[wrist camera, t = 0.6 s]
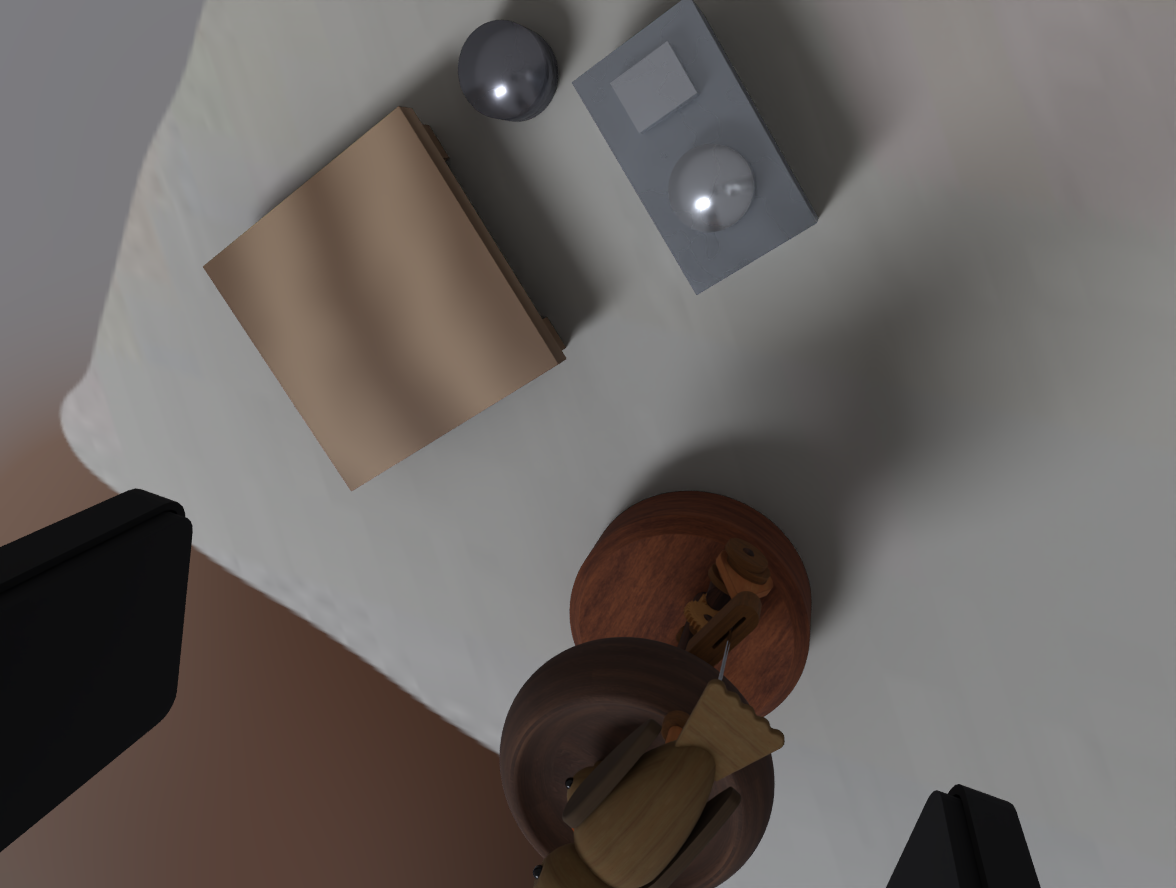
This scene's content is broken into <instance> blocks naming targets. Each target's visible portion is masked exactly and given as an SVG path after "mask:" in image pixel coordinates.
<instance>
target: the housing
mask: <svg viewBox="0 0 1176 888" xmlns="http://www.w3.org/2000/svg"><path fill="white" fill-rule="evenodd" d="M572 84H573V85H574V87H575V89H576V91H577V92H578V94H579V96H580V97H581V99H582V101H583V103H584V104H585V106H586V108H587V109H588V111H589V113H590V114H591V116H592V118H593V120H594V121H595V123H596V125H597V126H598V128H599V130H600V131H601V133H602V135H603V137H604V138H605V140H606V142H607V143H608V145H609V147H610V149H611V150H612V152H613V154H614V155H615V157H616V159H617V160H618V162H619V164H620V166H621V167H622V169H623V171H624V172H625V174H626V176H627V177H628V179H629V181H630V183H631V184H632V186H633V188H634V189H635V191H636V193H637V195H638V196H639V198H640V200H641V201H642V203H643V205H644V206H645V208H646V210H647V212H648V213H649V215H650V217H651V218H652V220H653V222H654V223H655V225H656V227H657V229H658V230H659V232H660V234H661V235H662V237H663V239H664V241H665V242H666V244H667V246H668V247H669V249H670V251H671V252H672V254H673V256H674V258H675V259H676V261H677V263H678V264H679V266H680V268H681V269H682V271H683V273H684V275H685V276H686V278H687V280H688V281H689V283H690V285H691V287H692V288H693V290H694V292H695V293H696V295H698V294H699V293H701V292H703V291H704V290H706V289H708V288H709V287H711V286H713V285H714V284H716V283H718V282H719V281H721V280H723V279H724V278H726V277H728V276H729V275H731V274H733V273H734V272H736V271H738V270H739V269H741V268H743V267H744V266H746V265H748V264H749V263H751V262H753V261H754V260H756V259H758V258H759V257H761V256H763V255H764V254H766V253H768V252H769V251H771V250H773V249H774V248H776V247H778V246H779V245H781V244H783V243H784V242H786V241H788V240H789V239H791V238H793V237H794V236H796V235H798V234H799V233H801V232H803V231H804V230H806V229H808V228H809V227H811V226H813V225H814V224H816V223H817V221H818V217H817V215H816V213H815V211H814V209H813V208H812V206H811V204H810V202H809V201H808V199H807V197H806V195H805V193H804V192H803V190H802V188H801V186H800V185H799V183H798V181H797V179H796V177H795V176H794V174H793V172H792V170H791V169H790V167H789V165H788V163H787V161H786V160H785V158H784V156H783V154H782V153H781V151H780V149H779V147H778V145H777V144H776V142H775V140H774V138H773V137H772V135H771V133H770V131H769V129H768V128H767V126H766V124H765V122H764V121H763V119H762V117H761V115H760V113H759V112H758V110H757V108H756V106H755V105H754V103H753V101H752V99H751V97H750V96H749V94H748V92H747V90H746V89H745V87H744V85H743V83H742V81H741V80H740V78H739V76H738V74H737V73H736V71H735V69H734V67H733V65H732V64H731V62H730V60H729V58H728V57H727V55H726V53H725V51H724V49H723V48H722V46H721V44H720V42H719V41H718V39H717V37H716V35H715V33H714V32H713V30H712V28H711V26H710V25H709V23H708V21H707V19H706V17H705V16H704V14H703V13H702V11H701V10H700V9H699V8H698V6H697V5H696V4H695V2H694V1H693V0H681V1H680V2H678V3H677V4H676V5H674V6H673V7H672V8H670V9H669V10H668V11H666V12H665V13H664V14H662V15H661V16H660V17H658V18H657V19H656V20H654V21H653V22H652V23H650V24H649V25H648V26H646V27H645V28H644V29H642V30H641V31H640V32H638V33H637V34H636V35H634V36H633V37H632V38H630V39H629V40H628V41H626V42H625V43H624V44H622V45H621V46H620V47H618V48H617V49H616V50H614V51H613V52H612V53H610V54H609V55H608V56H606V57H605V58H604V59H602V60H601V61H600V62H598V63H597V64H596V65H594V66H593V67H592V68H590V69H589V70H588V71H586V72H585V73H584V74H582V75H581V76H580V77H578V78H577V79H576V80H574V81H573V82H572Z"/></svg>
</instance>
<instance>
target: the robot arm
mask: <svg viewBox="0 0 1176 888" xmlns="http://www.w3.org/2000/svg"><path fill="white" fill-rule="evenodd" d="M192 533H193V531H192V524H191V521H190V520H189V519H188V518H186V517H185V512H184V509H183V506H181V505H180V504H179V503H178V502H175V501H172V500H170V499H167V498H164V497H161V496H159V495H156V494H153V493H150V492H148V491H145V490H142V489H132V490H128V491H126V492H124V493H121V494H119V495H117V496H115V497H113V498H110V499H108V500H106V501H104V502H101V503H99V504H97V505H94V506H92V507H90V508H88V509H85V510H83V511H81V512H79V513H76V514H74V515H72V516H70V517H68V518H65V519H63V520H61V521H58V522H56V523H54V524H52V525H49V526H47V527H45V528H42V529H40V530H38V531H36V532H33V533H31V534H29V535H27V536H24V537H22V538H20V539H18V540H16V541H13V542H11V543H9V544H7V545H4V546H2V547H0V852H1V851H2V850H4V849H5V848H6V847H7V846H9V845H10V844H11V843H12V842H13V841H15V840H16V839H17V838H18V837H20V836H21V835H22V834H23V833H25V832H26V831H27V830H28V829H29V828H30V827H32V826H33V825H34V824H36V823H37V822H38V821H39V820H40V819H41V818H43V817H44V816H45V815H47V814H48V813H49V812H50V811H51V810H53V809H54V808H55V807H56V806H58V805H59V804H60V803H61V802H62V801H64V800H65V799H66V798H67V797H68V796H70V795H71V794H72V793H73V792H75V791H76V790H77V789H78V788H80V787H81V786H82V785H83V784H85V783H86V782H87V781H88V780H89V779H91V778H92V777H93V776H94V775H96V774H97V773H98V772H99V771H100V770H102V769H103V768H104V767H105V766H107V765H108V764H109V763H110V762H112V761H113V760H114V759H115V758H116V757H118V756H119V755H120V754H121V753H122V752H124V751H125V750H126V749H127V748H129V747H130V746H131V745H132V744H134V743H135V742H136V741H137V740H138V739H140V738H141V737H142V736H143V735H145V734H146V733H147V732H148V731H150V730H151V729H152V728H153V727H154V726H156V725H157V724H158V723H159V722H160V721H161V720H162V719H163V718H164V717H165V716H166V715H167V713H168V712H169V710H170V708H171V707H172V705H173V703H174V700H175V698H176V693H177V685H178V675H179V664H180V655H181V644H182V634H183V624H184V614H185V604H186V603H185V602H186V594H187V582H188V573H189V563H190V553H191V543H192ZM886 888H1041V887H1040V884H1039V881H1038V878H1037V875H1036V872H1035V868H1034V865H1033V862H1032V859H1031V856H1030V853H1029V849H1028V846H1027V843H1026V840H1025V837H1024V834H1023V831H1022V827H1021V824H1020V821H1019V818H1018V815H1017V812H1016V810H1015V808H1014V806H1013V804H1011V803H1009V802H1007V801H1005V800H1002V799H999V798H996V797H994V796H991V795H988V794H985V793H982V792H980V791H977V790H974V789H971V788H969V787H966V786H963V785H960V784H958V785H955V786H954V787H953V788H952V789H951V790H950V791H949V793H948V794H946V793H943V792H940V791H938V790H936V791H934V792H933V793H932V794H931V795H930V796H929V798H928V800H927V802H926V804H925V806H924V808H923V810H922V812H921V815H920V817H919V819H918V821H917V823H916V825H915V827H914V829H913V831H912V834H911V836H910V838H909V840H908V842H907V844H906V846H905V848H904V851H903V853H902V855H901V857H900V859H899V861H898V863H897V865H896V868H895V870H894V872H893V874H892V876H891V878H890V880H889V882H888V885H887V887H886Z"/></svg>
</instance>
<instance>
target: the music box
mask: <svg viewBox="0 0 1176 888" xmlns="http://www.w3.org/2000/svg"><path fill="white" fill-rule="evenodd" d="M810 623H811V590H810V585H809V580H808V576H807V573H806V570H805V568H804V565H803V563H802V561H801V558H800V556H799V555H798V553H797V551H796V549H795V548H794V546H793V545H792V543H791V542H790V541H789V539H788V538H787V537H786V536H785V535H784V533H783V532H782V531H781V530H780V529H779V528H778V527H777V526H776V525H775V524H774V523H772V522H771V521H770V520H769V519H768V518H766V517H765V516H764V515H762V514H761V513H759V512H758V511H756V510H755V509H753V508H751V507H749V506H748V505H746V504H743V503H741V502H739V501H737V500H734V499H732V498H729V497H726V496H722V495H718V494H714V493H708V492H700V491H678V492H670V493H664V494H660V495H657V496H653V497H650V498H648V499H645V500H643V501H641V502H639V503H637V504H635V505H633V506H631V507H630V508H628V509H627V510H625V511H624V512H623V513H621V514H620V515H619V516H618V517H617V518H616V519H615V520H614V521H613V522H612V523H611V524H610V525H609V526H608V527H607V528H606V530H605V531H604V532H603V534H602V535H601V537H600V538H599V540H598V541H597V543H596V544H595V546H594V548H593V549H592V551H591V552H590V554H589V555H588V557H587V558H586V560H585V561H584V563H583V565H582V566H581V568H580V570H579V572H578V574H577V577H576V579H575V582H574V585H573V589H572V594H571V600H570V625H571V631H572V636H573V640H574V643H575V646H574V647H572V648H569V649H567V650H565V651H563V652H561V653H560V654H558V655H556V656H555V657H553V658H551V659H550V660H549V661H547V662H546V663H545V664H544V665H542V666H541V667H540V668H539V669H538V670H537V671H536V672H535V673H534V674H533V675H532V676H531V677H530V678H529V679H528V680H527V681H526V683H525V684H524V685H523V687H522V688H521V689H520V691H519V693H518V694H517V696H516V697H515V699H514V701H513V703H512V705H511V707H510V710H509V712H508V714H507V717H506V720H505V723H504V727H503V731H502V737H501V744H500V772H501V779H502V785H503V788H504V793H505V796H506V799H507V802H508V805H509V807H510V810H511V812H512V814H513V816H514V818H515V820H516V822H517V824H518V826H519V827H520V829H521V831H522V832H523V834H524V835H525V837H526V838H527V840H528V841H529V842H530V843H531V845H532V846H533V847H534V848H535V850H536V851H537V852H538V853H539V854H540V855H541V856H542V857H543V858H544V861H543V862H542V864H541V865H538V866H536V867H535V868H534V870H533V875H534V877H535V878H536V879H535V882H534V888H715V887H717V886H718V885H720V884H721V883H723V882H724V881H726V880H727V879H729V878H730V877H731V876H732V875H733V874H735V873H736V872H737V871H738V870H739V869H740V868H741V867H742V866H743V865H744V864H745V863H746V861H747V860H748V859H749V858H750V856H751V855H752V854H753V852H754V851H755V849H756V848H757V846H758V844H759V843H760V841H761V839H762V837H763V835H764V833H765V830H766V827H767V825H768V822H769V819H770V815H771V811H772V806H773V799H774V784H775V783H774V768H773V761H772V756H771V753H772V752H774V751H776V750H778V749H780V748H781V747H783V745H784V742H785V741H784V735H783V733H782V732H781V731H780V730H777V729H773V728H771V727H770V724H769V721H768V720H767V719H766V718H764V716H766V715H767V714H769V713H770V712H771V711H773V710H774V709H775V708H776V707H778V706H779V705H780V704H781V703H782V702H783V701H784V700H785V699H786V698H787V696H788V695H789V694H790V693H791V691H792V690H793V689H794V687H795V686H796V684H797V682H798V680H799V678H800V676H801V674H802V672H803V669H804V667H805V664H806V660H807V656H808V651H809V641H810Z"/></svg>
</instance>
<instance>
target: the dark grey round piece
mask: <svg viewBox="0 0 1176 888" xmlns="http://www.w3.org/2000/svg"><path fill="white" fill-rule="evenodd" d="M458 75H459V81H460V85H461V88H462V91H463V93H464V95H465V97H466V98H467V100H468V101H469V103H470V104H471V105H472V106H473V107H474V108H475V109H476V110H477V111H479V112H480V113H482V114H484V115H486V116H489V117H492V118H497V119H502V120H508V121H514V122H520V121H526V120H529V119H532V118H534V117H536V116H537V115H539V114H540V113H541V112H542V111H544V110H545V108H546V107H547V106H548V105H549V103H550V102H551V100H552V98H553V96H554V94H555V91H556V88H557V83H558V66H557V61H556V58H555V55H554V53H553V51H552V49H551V47H550V46H549V44H548V43H547V42H546V41H545V40H544V39H543V38H542V37H541V36H540V35H538V34H537V33H535V32H533V31H531V30H529V29H527V28H525V27H523V26H521V25H519V24H517V23H515V22H512V21H508V20H495V21H490V22H487V23H485V24H483V25H481V26H480V27H478V28H477V29H476V30H475V31H473V32H472V33H471V35H470V36H469V37H468V38H467V40H466V42H465V43H464V45H463V48H462V50H461V53H460V57H459V63H458Z"/></svg>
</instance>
